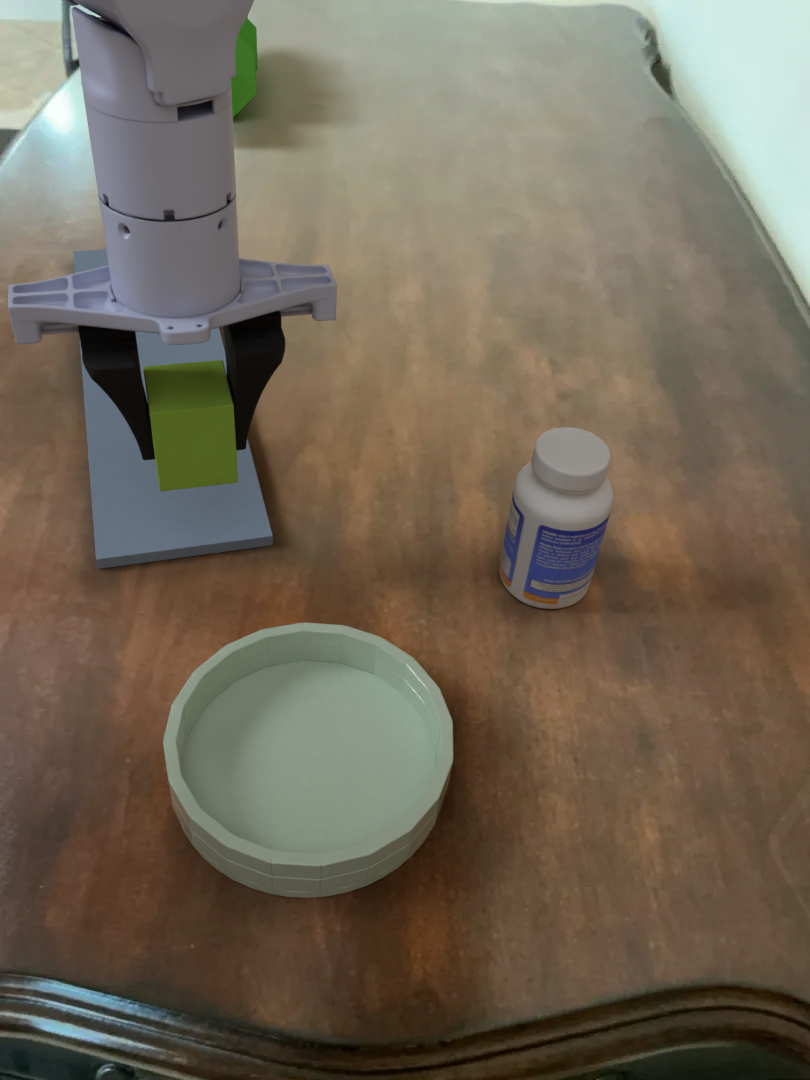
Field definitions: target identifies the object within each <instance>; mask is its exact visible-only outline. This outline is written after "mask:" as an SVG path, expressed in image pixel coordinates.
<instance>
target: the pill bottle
mask: <svg viewBox="0 0 810 1080" xmlns="http://www.w3.org/2000/svg"><path fill="white" fill-rule="evenodd" d="M611 456H612V455H611V451H610V449H609V446H608V445H607V443H606V442H604V441H603V439H602V438H600V437H599V436H597V435H596V434H594V433H593V432H590V431H588V430H585V429H582V428H578V427H572V426H571V427H569V426H562V427H555V428H551V429H549V430H546V431H544V432H542V434H541V435H539V436H538V438H537V439H536V441H535V444H534V448H533V452H532V455H531V460H530V461H529V462H528V463H526V464H525V465H524V466H523V467H522V468H521V469H520V471H518V473H517V475H516V478H515V481H514V485H513V490H512V495H511V501H510V506H509V511H508V515H507V522H506V527H505V532H504V535H503V536H504V537H503V543H502V547H501V553H500V558H499V568H498V569H499V570H498V571H499V576H500V580H501V582H502V584H503V586H504V587H505V589H506V590H507V591H508V592H509V594H511V595H512V596H513V597H514V598H516V599H517V600H518V601H519V602H522V603H524V604H525V605H528V606H529V607H530V606H531V607H533V608H537V609H544V610H558V609H564V608H567V607H570V606H572V605H574V604H577V603H578V602H579V601H580V600H582V599H583V598H584V597H585V596H586V594H587V593H588V590H589V588H590V585H591V582H592V580H593V575H594V571H595V568H596V564H597V562H598V558H599V554H600V550H601V547H602V543H603V540H604V536H605V533H606V529H607V526H608V522H609V518H610V516H611V513H612V508H613V504H614V489H613V487H612V484H611V482H610V480H609V479H608V476H607V475H608V472H609V468H610V464H611Z"/></svg>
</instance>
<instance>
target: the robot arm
mask: <svg viewBox="0 0 810 1080" xmlns="http://www.w3.org/2000/svg"><path fill="white" fill-rule="evenodd" d="M62 1H63V2H64V3H65V4H67V5H68V6H72V8H71V16H72V23H73V29H74V36H75V43H76V51H77V55H78V56H77V57H78V63H79V64H78V65H79V71H80V79H81V88H82V93H83V100H84V101H83V102H84V108H85V114H86V121H87V127H88V134H89V142H90V148H91V155H92V162H93V168H94V175H95V182H96V189H97V197H98V204H99V211H100V216H101V217H100V218H101V225H102V230H103V236H104V243H105V249H106V251H107V258H108V266H103V267H99V268H95V269H91V270H87V271H82V272H78V273H75V272H74V273H71V274H66V275H62V276H58V277H54V278H48V279H44V280H39V281H32V282H24V283H12V284H11V283H10V284H9V285H8V290H7V310H8V314H9V318H10V323H11V327H12V331H13V335H14V339H15V343H16V345H31V344H38V343H41V342H42V340H43V336H44V335H57V334H58V335H59V334H71V333H78V337H79V336H80V337H79V343H80V342H81V349H82V361H83V364H84V366H85V368H86V370H87V372H88V374H89V375H90V377H91V379H92V380H93V381H94V382H95V383H96V384H98V385H99V386H100V388H101V389H102V390H103V391H104V392H105V393H106V394H107V395H108V396H109V398H110V399H111V400H112V401H113V403H114V404H115V405H116V407H117V408H118V409H119V411H120V412H121V414H122V415H123V417H124V418H125V420H126V422H127V423H128V425H129V427H130V429H131V431H132V433H133V435H134V437H135V439H136V441H137V444H138V446H139V449H140V452H141V455H142V459H143V460H153V459H155V452H154V445H153V437H152V430H151V423H150V416H149V409H148V403H147V398H146V394H145V390H144V386H143V382H142V376H141V369H140V362H139V355H138V348H137V340H136V333H135V331H137V332H146V333H155V334H161V338H162V341H163V342H164V343H166V344H168V345H183V344H196V343H203V342H206V341H207V340H209V339H210V336H211V334H210V330H212V329H215V328H219V329H220V328H222V331H223V345H224V349H225V356H226V370H227V380H228V384H229V388H230V392H231V396H232V400H233V405H234V419H235V437H236V450H244V449H246V443H247V438H248V436H249V432H250V427H251V424H252V420H253V417H254V414H255V412H256V409H257V405H258V403H259V401H260V398H261V396H262V394H263V392H264V390H265V388H266V387H267V385H268V383H269V381H270V380H271V378H272V376H273V375H274V374H275V372H276V371H277V369H278V368H279V367H280V366H281V364H282V363H283V359H284V356H285V353H286V337H285V333H284V331H283V328H282V327H283V326H282V318H283V317H296V316H306V315H307V316H308V315H311V317H312V319H313V320H314V321H316V322H328V321H335V320H337V299H338V298H337V295H338V284H337V281H336V279H335V277H334V274H333V272H332V270H331V267H330V265H329V264H328V263H326V264H298V263H297V264H296V263H285V262H277V261H268V260H267V261H266V260H258V259H249V258H241V257H240V250H239V249H240V248H239V227H238V208H237V206H238V205H237V182H236V180H237V179H236V162H235V161H236V159H235V139H234V137H235V136H234V117H233V113H232V92H231V79H232V78H233V77H236V56H235V49H236V41H237V37H238V34H239V31H240V29H241V27H242V25H243V23H244V21H245V20H246V18H247V16H249V14H250V11H251V9H252V7H253V4H254V2H255V0H62ZM76 6H80V7H82V8H84V9H86V10H87V11H90V12H92V13H93V14H91V13H87V12H86V11H84V10H82V9H80V8H79V7H76Z"/></svg>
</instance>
